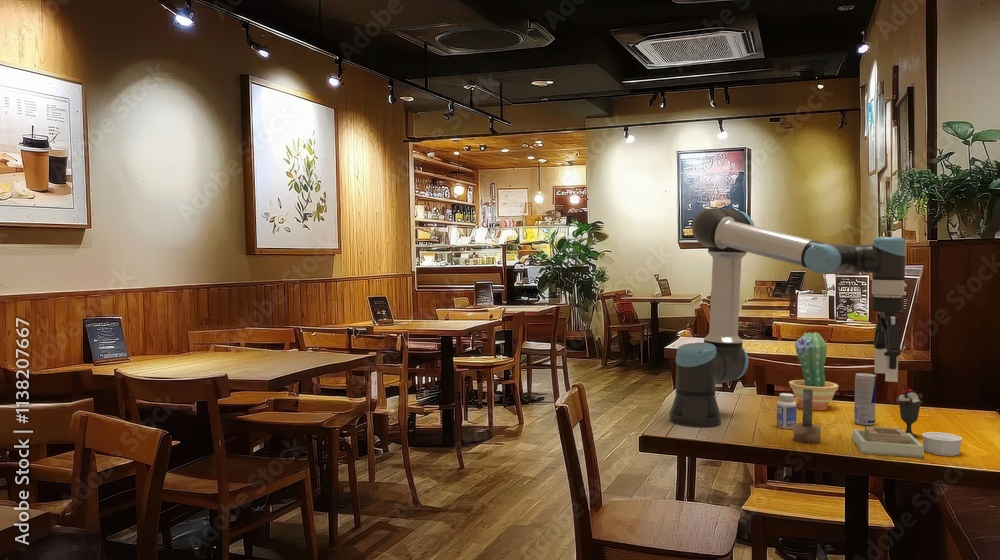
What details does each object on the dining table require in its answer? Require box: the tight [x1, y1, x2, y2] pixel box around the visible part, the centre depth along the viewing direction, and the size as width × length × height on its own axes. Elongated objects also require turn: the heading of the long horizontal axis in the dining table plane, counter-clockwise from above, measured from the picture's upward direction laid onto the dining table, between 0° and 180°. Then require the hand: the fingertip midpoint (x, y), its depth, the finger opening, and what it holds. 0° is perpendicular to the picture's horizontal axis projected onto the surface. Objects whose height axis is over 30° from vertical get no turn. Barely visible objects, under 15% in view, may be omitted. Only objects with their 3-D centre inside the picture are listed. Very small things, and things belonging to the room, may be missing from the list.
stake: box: [793, 389, 822, 445], centre depth 199 cm, size 7×7×14 cm
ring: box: [864, 425, 910, 444], centre depth 191 cm, size 9×9×4 cm
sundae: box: [895, 383, 923, 439], centre depth 205 cm, size 7×7×15 cm
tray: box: [852, 429, 925, 459], centre depth 191 cm, size 14×14×3 cm
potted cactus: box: [788, 331, 840, 411], centre depth 243 cm, size 15×15×25 cm
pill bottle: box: [776, 392, 798, 430], centre depth 215 cm, size 5×5×10 cm
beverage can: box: [853, 372, 877, 426], centre depth 220 cm, size 6×6×15 cm
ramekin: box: [921, 431, 963, 457], centre depth 188 cm, size 9×9×4 cm
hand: (885, 377), depth 191 cm, fingers open, 13 cm apart
